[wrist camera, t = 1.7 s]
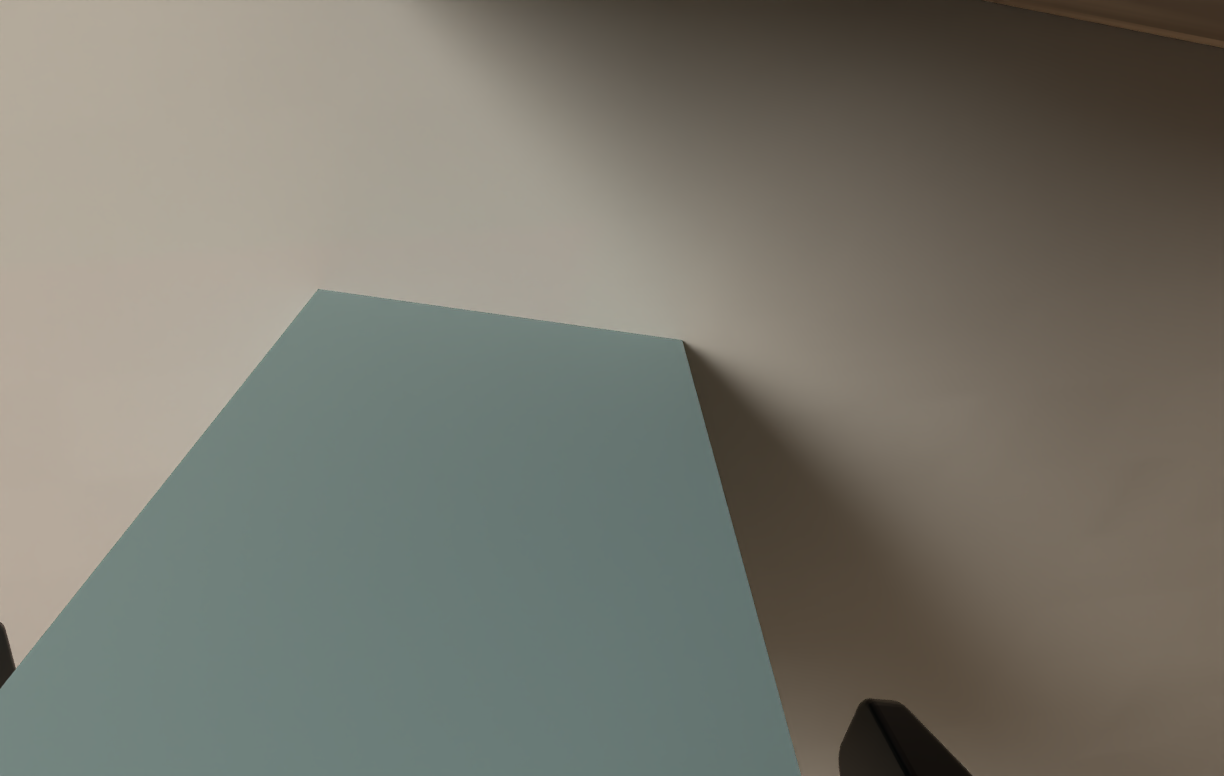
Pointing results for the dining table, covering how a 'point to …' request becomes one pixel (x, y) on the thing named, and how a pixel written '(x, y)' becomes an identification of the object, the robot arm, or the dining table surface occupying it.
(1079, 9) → the cleat board
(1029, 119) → the dining table surface
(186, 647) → the teal block
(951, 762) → the robot arm
